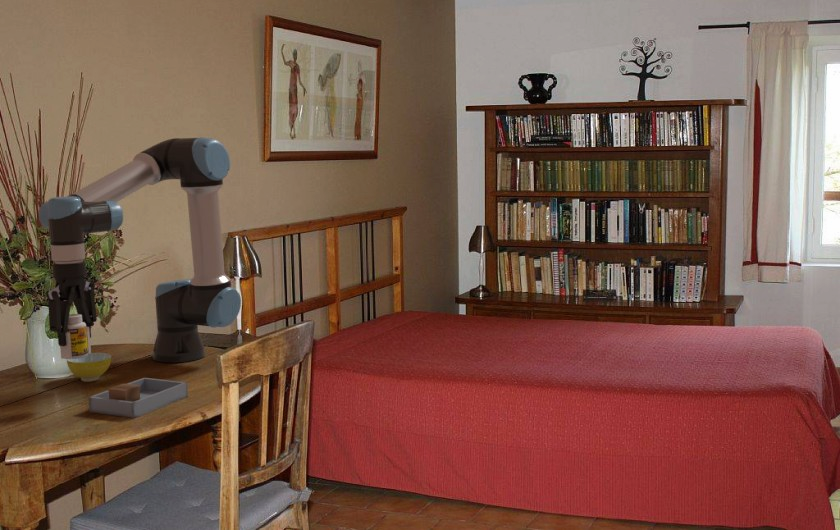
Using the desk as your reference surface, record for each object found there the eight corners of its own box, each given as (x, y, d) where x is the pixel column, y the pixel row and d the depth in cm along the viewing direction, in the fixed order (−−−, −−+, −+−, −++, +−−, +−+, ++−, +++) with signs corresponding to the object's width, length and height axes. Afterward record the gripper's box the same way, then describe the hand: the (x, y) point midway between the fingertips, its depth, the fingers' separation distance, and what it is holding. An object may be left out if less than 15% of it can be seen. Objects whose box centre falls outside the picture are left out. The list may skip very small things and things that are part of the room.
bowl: (121, 376, 252) (120, 354, 251) (91, 386, 241) (89, 363, 241) (89, 372, 256) (88, 351, 256) (58, 382, 246) (57, 360, 245)
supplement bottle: (67, 360, 220) (63, 318, 218) (61, 356, 224) (58, 315, 223) (91, 357, 223) (87, 315, 221) (85, 352, 227) (82, 312, 226)
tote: (144, 391, 236) (144, 377, 236) (187, 396, 231) (187, 382, 230) (89, 411, 218) (88, 397, 218) (134, 418, 213) (133, 403, 212)
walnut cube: (124, 403, 223) (123, 383, 222) (140, 405, 221) (139, 385, 220) (109, 409, 218) (108, 388, 218) (126, 411, 216) (125, 390, 216)
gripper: (85, 255, 230) (92, 345, 233) (26, 266, 213) (35, 363, 217) (108, 256, 227) (115, 347, 230) (50, 267, 210) (59, 366, 214)
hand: (76, 355), depth 223 cm, fingers closed on supplement bottle, 6 cm apart
